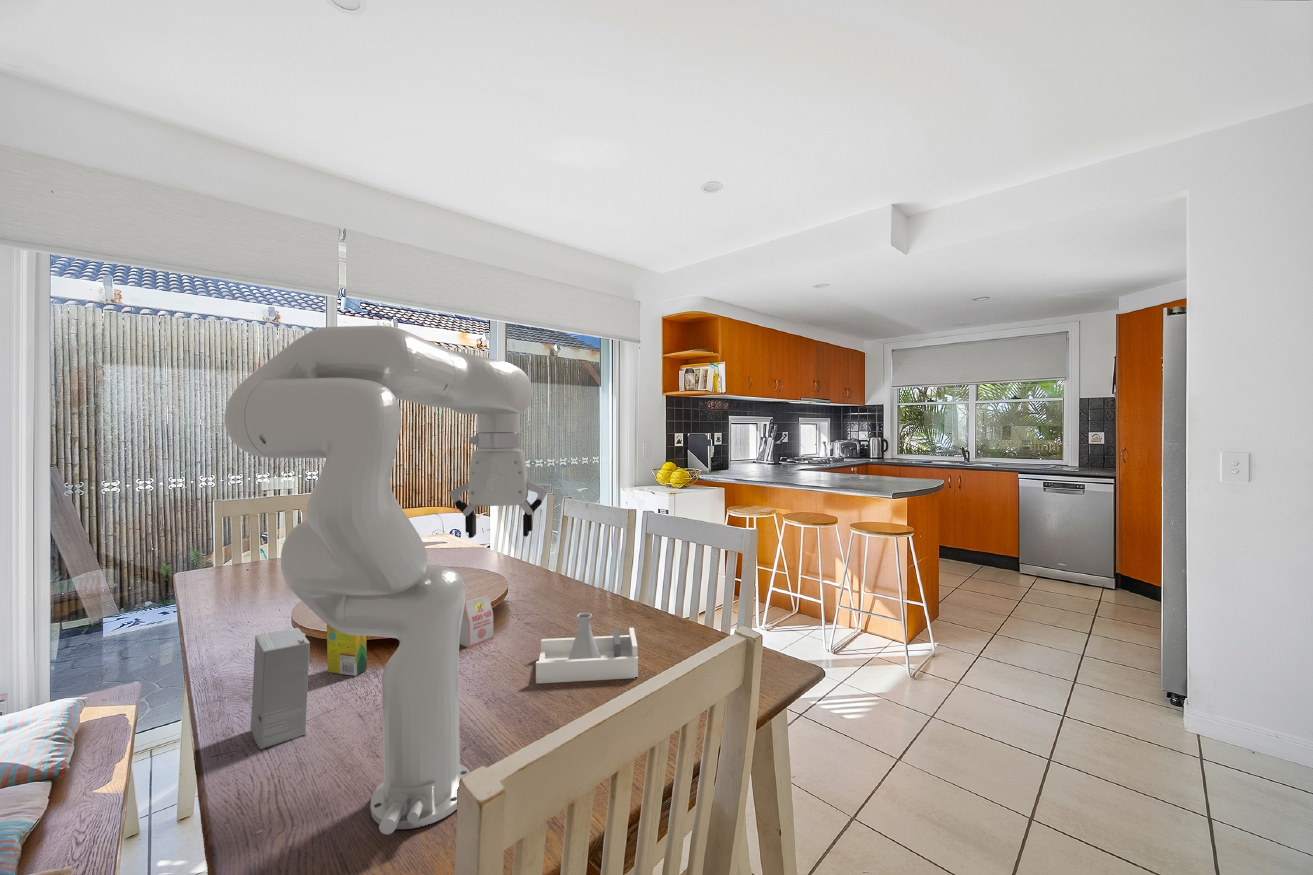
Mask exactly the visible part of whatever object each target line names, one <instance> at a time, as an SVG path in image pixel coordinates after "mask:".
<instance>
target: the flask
mask: <svg viewBox="0 0 1313 875" xmlns="http://www.w3.org/2000/svg"><path fill="white" fill-rule="evenodd" d="M592 616H593V615H592V613H589V612H580V613H578V614H576V620H577V630H576V634H575V637H574V638H575V640H574V644H573V647H572V649H571V652H570V655H569V658H568V659H588V658H601V656H600V654H599V651H598V648H597V646H596V643H595V640H594V637H595V636H594V635H593V631H592V627H591V626H592V625H591V619H592Z"/></svg>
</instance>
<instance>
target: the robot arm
mask: <svg viewBox="0 0 1313 875" xmlns="http://www.w3.org/2000/svg"><path fill="white" fill-rule="evenodd" d="M532 388H533V387H532V383H531V381H530V378H529V376H528V375H527V374H526V372H525V371H524V370H523V369H521V368H520V367H518V366H516V365H514V364H513V363H510V362H507V361H505V360H501V359H496V358H490V357H485V356H482V355H481V356H480V355H476V354H472V353H468V352H463V351H460V350H459V351H457V350H451V349H447V348H446V347H445V348H444V347H442V346H440V345H438V344H435V343H433V342H431V341H429V340H427V339H424V338H422V337H420V336H418V335H417V334H413V333H412V332H409V331H407V330H404V329H402V328H398V327H395V326H388V325H355V326H354V325H351V326H347V325H346V326H345V325H344V326H342V325H341V326H324V327H320V328H319V327H318V328H317V329H314V330H312V331H309V332H308V333H305V334H304V335H301V336H300V337H299V338H297V339H296V340H294V341H293V342H291V343H290V344H289V345H287V346H286V347H284V348H283V349H282V350H281V351H280V352H278V353H277V354H276V355H275V356H273V357H272V358H271V359H269V360H267V361H266V362H265V363H264V364H263V365H262V366H260V367H259V368H258V369H256V370H255V371H254V372H252V374H250V375H249V376H247V378H245V379H244V380H243V381H242V382H241V383H240V384H238V386H237V387H236V388H235V389H234V391H233V393H232V394H231V396H230V397H229V398H228V401H227V403H226V406H225V411H224V427H225V430H226V432H227V435H228V436H229V438H230V440H231V441H232V442H233V443H234V445H235V446H236V447H238V448H239V449H241V450H242V451H244V452H245V453H248V454H251V455H253V456H256V457H262V458H266V459H267V458H268V459H325V461H324V463H323V466H322V468H321V472H320V474H319V477H318V479H317V482H316V484H315V485H314V488H313V489H312V491H311V493H310V494H309V498H308V500H307V503H306V509H305V510H306V511H305V515H306V519H304V520H303V521H301V522H300V523H298V524H297V525H296V526H294V527H293V528H292V529H291V531H290V532H289V533H288V534H287V536H286V537H285V539H284V541H283V544H282V547H281V552H280V569H281V572H282V575H283V579H284V580H285V584H286V585H287V587H288V588H289V589H290V591H291V592H292V593H293V594H294V595H295V596H296V597H297V598H298V599H299V600H301V602H302V603H303V604H304V605H305V606H307V607H308V608H309V609H310V610H311V611H312V612H313V613H314V614H315V615H316V616H318V618H320V619H321V620H322V621H323V622H324V623H325V624H326V626H327V625H329V626H330V627H331V628H333V629H334V630H336V631H338V632H340V633H343V634H348V635H358V636H366V637H380V638H382V637H383V638H391V639H397V640H398V641H399V644H398V647H397V648H396V650H395V651H394V652H393V654H392V655H391V657H390V658H388V661H386V664H385V666H384V668H383V671H382V678H381V692H382V749H383V750H382V754H383V756H382V759H383V760H382V761H383V762H382V764H383V766H382V767H383V770H382V772H383V781H382V782H381V783H380V784H379V785H378V787H377V788H376V789H375V790H374V792H373V793H372V796H371V798H370V814H371V818H372V819H373V821H374V822H376V823H377V824H378V830H379V831H380V833H381V834H383V835H391V834H393V833H394V832H395V830H411V829H416V828H421V826H422V827H425V825H426V826H428V824H429V825H431V824H434V823H436V822H438V821H440V820H442V819H445V818H447V817H448V816H449V815H451V814H452V813H454V812H455V811H456V810H457V809H458V808H457V789H458V787H459V781H460V779H461V778H462V777H464V776H465V775H467V774H469V773H470V774H471V772H470V770H469V769H468V768H467V767H466V766H465V765H463V764H462V763H461V762H460V757H461V756H460V753H461V752H460V746H461V745H460V677H459V675H460V673H459V672H460V670H459V666H460V665H459V663H460V662H459V661H460V659H459V656H460V653H459V652H460V651H459V650H460V644H459V639H460V630H461V623H462V617H463V612H464V606H465V602H466V597H467V595H466V594H467V590H466V584H465V581H464V579H463V578H462V576H461V575H460V574H459V572H457V571H455V570H453V569H452V568H449V567H447V566H444V565H443V566H442V565H439V564H431V563H428V554H427V549H426V546H425V544H424V541H423V540H422V538H421V536H420V534H419V533H418V531H417V530H416V528H415V526H414V525H413V523H412V522H411V520H410V519H409V517H408V516H407V514H406V512H405V511H404V510H403V508H402V506H401V505H400V503H399V502H398V499H397V497H396V496H395V495H394V493H393V491H392V487H391V479H392V474H393V468H394V467H393V466H394V461H395V456H396V452H397V448H398V444H399V443H398V442H399V440H400V435H401V428H402V414H401V410H400V405H399V402H398V400H401V401H406V402H411V403H416V404H418V405H423V406H427V407H433V408H445V409H450V410H452V411H453V412H455V413H457V414H461V415H477V416H476V418H477V419H476V426H477V427H476V432H477V433H476V434H475V435H473V436H468V444H470V445H475V447H476V449H475V450H472V453H471V456H470V463H469V474H468V482H465V483H464V484H462V485H459V486H458V487H456V488H454V489H452V490H450V491H449V496H450V498H451V499H452V501H453V503H454V506H455V507H456V509H458V510H459V511H460V512H461V513H462V514H463V516H465V519H464V520H465V522H464V523H465V526H464V528H465V533H468V539H472V538H474V537H475V536H476V535H477V514H476V513H475V510H476V508H478V507H495V506H496V507H500V506H501V507H502V506H505V507H509V506H519V507H520V508H521V509H522V510H523V512H524V514H523V515H522V537H528V536H529V534H530V532H532V531H533V513H534V512H535V511H536V510H537V509H538V508H539V507H540V506H541V505H542V503H543V502H544V499H545V497H546V495H547V493H548V489H546V488H544V487H543V486H541V485H539V484H536V483H534V482H532V481H530V480H529V479H528V470H527V461H526V455H525V452H524V449H521V424H520V423H521V414H522V413H524V412H525V411H526V410H527V409H528V408H529V406H530V404H531V401H532V398H533V389H532ZM466 491H467V495H468V497H467V498H468V502H469V504H468V503H466V501H464V500H463V499H462V497H461V494H463V493H465V492H466ZM529 491H532V492H534V493H536V494H537V497H536V499H535V500H534V501H533V502H532V503H530V502H529V500H528V497H529V495H528V494H529Z"/></svg>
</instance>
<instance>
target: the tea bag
mask: <svg viewBox="0 0 1313 875" xmlns="http://www.w3.org/2000/svg"><path fill="white" fill-rule="evenodd" d="M489 639H491V640H493V639H494V612H493V607H492V603H491V599H490V595H488V594H487V595H484V596H480V597H477V598H474V599H469V600H467V601H466V600H465V606H464V612H463V617H462V623H461V630H460V639H459V645H461V646H463V647H465V648H467V649H468V648H471V647H474V646H477V645H480V644H482V643H485V642H487V641H490V640H489Z"/></svg>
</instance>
